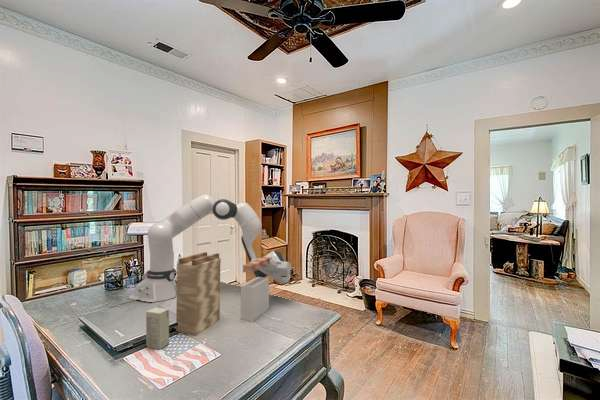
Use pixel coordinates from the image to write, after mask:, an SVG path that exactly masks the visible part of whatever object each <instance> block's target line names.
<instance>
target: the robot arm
mask: <svg viewBox="0 0 600 400" xmlns="http://www.w3.org/2000/svg"><path fill="white" fill-rule="evenodd" d="M211 214H212V215H214V216H215V218H216V219H219V220H220V221H226V220H229V219H235V221H236V222H237V224H238V225H239V226H240V229H241V231H242V235H241V237H240V239H241V244H242V247H243V250H244V252H245V254H246V257H247V259H248V262H252V261H254V260H257V259H258V258H257V256H256V254H255V250H254V249H253V248H254V247H253V242H254V241H255V239H256V238H257V237H258V235H259V234H260V232H262V231H261V230H262V226H263V224H262V221H261V220H260V217H259V216H258V213H256V211H255V210H254V209H253V207H252V206H251V205H250V204H249V203H247V202H240V203H238V204H236V203H233V202H232V201H231V200H229V199H224V198H222V199H218V200H215V199H214V198H213V197H212V196H211V195H209V194H206V193H205V194H202V195H200V196H196V197H195V198H194V199H192V200H190V201H189V202H187V203H185V204H184V205H182V206H181V207H180V208H178V209H176V210H175V211H173V212H172V213H171V214H169V215H168V216H166V217H165V218H163V219H161V221H158V222H155V223H153V224H152V225H151V226H150V227H149V229H148V231H147V239H148V240H147V241H148V247H149V248H148V250H149V270H147V271H145V272H144V275H146V277H145V278H143V279H142V280H141V281H140V282H139V283H137V284H136V285H135V287H134V290H133V291H134V292H133V293H132V294H130V295H129V296H128V300H132V301H136V300H137V299H146V300H148V301H150V302H152V303H157V302H161V301H168V300H171V299H173V298H175V297H177V290H176V287H175V266H174V265H175V264H174V263H175V258H174V257H175V252H174V245H173V244H174V243H173V238H175V237H177V236H178V235H180V234H181V233H183V232H185V230H187V229H189V228H190V227H192V226H193V225H194V224H197V223H198V222H199V221H201V220H202V219H204V218H205V217H207V216H208V215H211ZM265 256H266V257H272V259H269V261H268V263H269V265H267V266H265V267H263V268H261V269H259V270H257V271H255V272H253V275H254V276H255V278H256V277H264V278H267V276H268V277H269V278H271V279H272V280H274V281H275V282H276V283H278V284H281V285H285V284H287V283H288V282H289V281H290V279H291V271H292V264H291V263H290V262H289V261H287V260H286V258H285V257H284V255H283V254H282V253H281V252H280V251H279V250H272V251H271V252H269V253H268V254H266V255H265Z"/></svg>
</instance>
